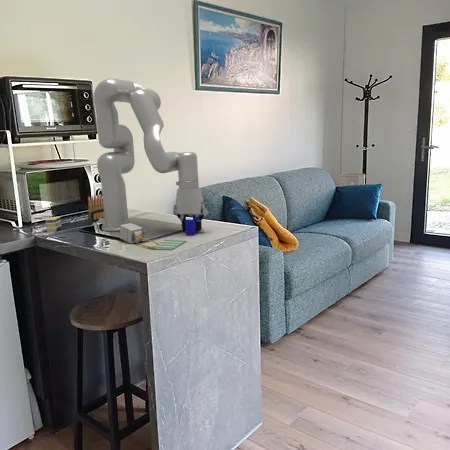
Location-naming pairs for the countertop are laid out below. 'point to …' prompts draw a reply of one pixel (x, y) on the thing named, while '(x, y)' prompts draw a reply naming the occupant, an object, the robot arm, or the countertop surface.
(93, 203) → the ammunition clip
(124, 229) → the electrical component
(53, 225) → the stacked layers on plate
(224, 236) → the countertop surface
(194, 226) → the cable clip
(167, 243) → the header pad
